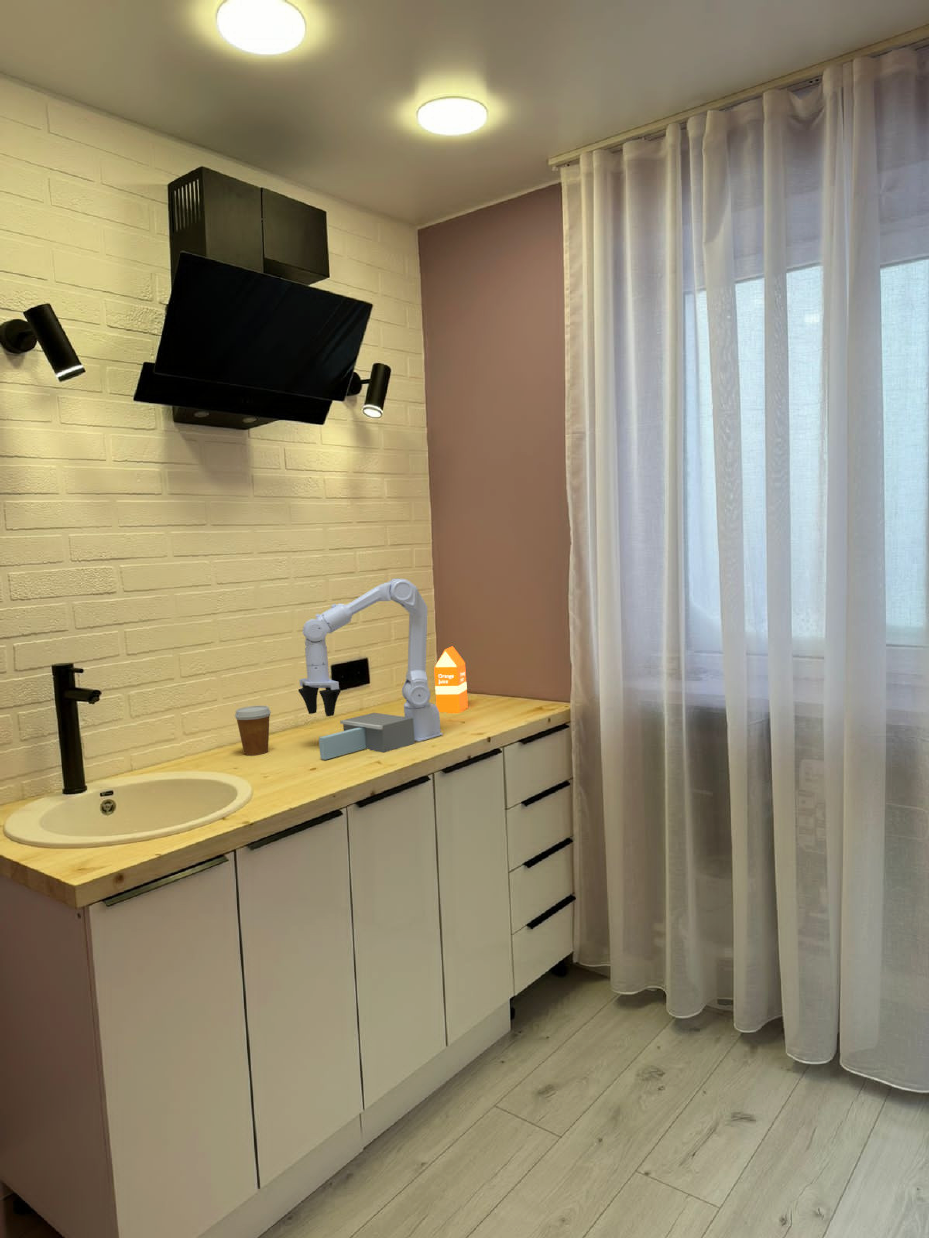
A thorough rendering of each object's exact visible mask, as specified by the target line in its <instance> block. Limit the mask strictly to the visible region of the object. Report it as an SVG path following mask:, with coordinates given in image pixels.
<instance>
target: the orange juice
mask: <svg viewBox="0 0 929 1238" xmlns="http://www.w3.org/2000/svg"><path fill="white" fill-rule="evenodd" d="M433 670H434V671H433V673H434V683H435V685H434V688H435V697H436V698H435V701H436V702H435V703H436V706H437V708H438V710H439V712H447V713H446V714H461V713H462V712H464V711H465V710H466V708H467V709H468V708H469V704H468V691H467V690H468V687H467V685H468V683H467V675H466V674H467V673H466V670H467V669H466V662H465V660H464V659H463V658H462V657H461V655H460V654H459V653H458V651H457V650H456V649H455V647H454V646H452V645H451V646H450V647H448V648H445V649H444V650H443V652H442V654H441V656H440V657H439V658H438V660H437V663H436V664H435V666H434V668H433ZM460 712H461V713H460Z"/></svg>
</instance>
